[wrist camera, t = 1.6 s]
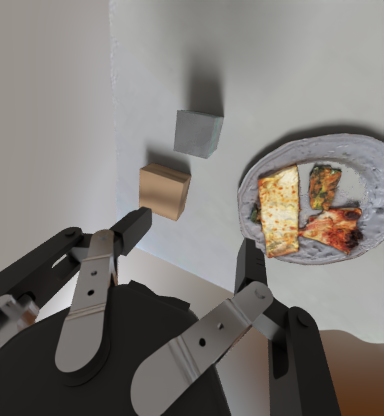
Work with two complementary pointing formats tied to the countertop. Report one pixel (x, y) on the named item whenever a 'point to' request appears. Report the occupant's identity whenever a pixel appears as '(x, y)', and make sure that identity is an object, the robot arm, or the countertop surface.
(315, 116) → the countertop surface
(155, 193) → the tan block
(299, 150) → the food plate
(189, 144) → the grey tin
